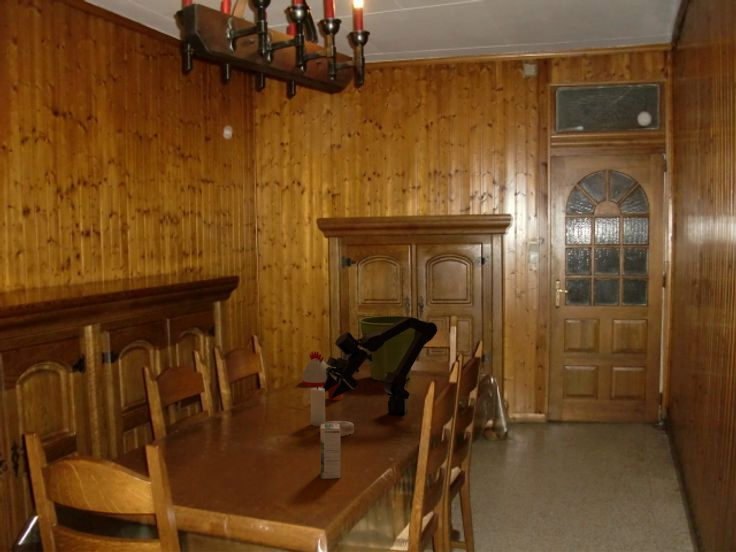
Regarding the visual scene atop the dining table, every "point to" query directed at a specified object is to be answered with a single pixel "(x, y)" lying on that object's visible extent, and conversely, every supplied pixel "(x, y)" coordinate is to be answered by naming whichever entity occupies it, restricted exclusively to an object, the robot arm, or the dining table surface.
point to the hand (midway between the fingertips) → (326, 394)
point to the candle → (317, 406)
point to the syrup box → (330, 451)
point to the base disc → (343, 427)
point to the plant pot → (387, 345)
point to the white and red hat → (315, 371)
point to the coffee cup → (333, 390)
